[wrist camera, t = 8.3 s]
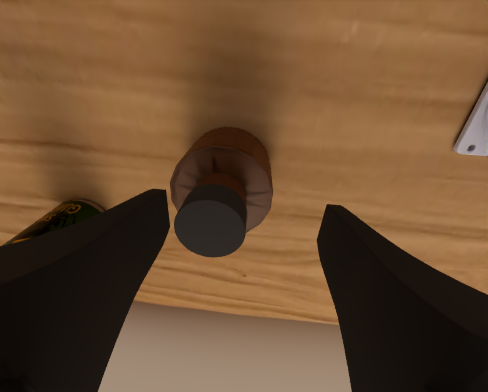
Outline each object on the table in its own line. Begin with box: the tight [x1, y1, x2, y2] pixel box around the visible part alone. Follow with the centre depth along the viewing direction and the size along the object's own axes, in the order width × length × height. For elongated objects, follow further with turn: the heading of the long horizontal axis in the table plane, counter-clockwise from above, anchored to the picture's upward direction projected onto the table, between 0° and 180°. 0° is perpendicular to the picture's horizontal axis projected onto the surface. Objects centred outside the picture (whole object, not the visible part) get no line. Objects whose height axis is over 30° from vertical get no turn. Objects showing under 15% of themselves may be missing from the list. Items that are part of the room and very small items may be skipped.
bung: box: [174, 184, 247, 257], centre depth 14 cm, size 4×4×3 cm
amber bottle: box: [170, 127, 273, 233], centre depth 17 cm, size 7×7×7 cm
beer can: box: [2, 199, 105, 246], centre depth 19 cm, size 5×5×12 cm
